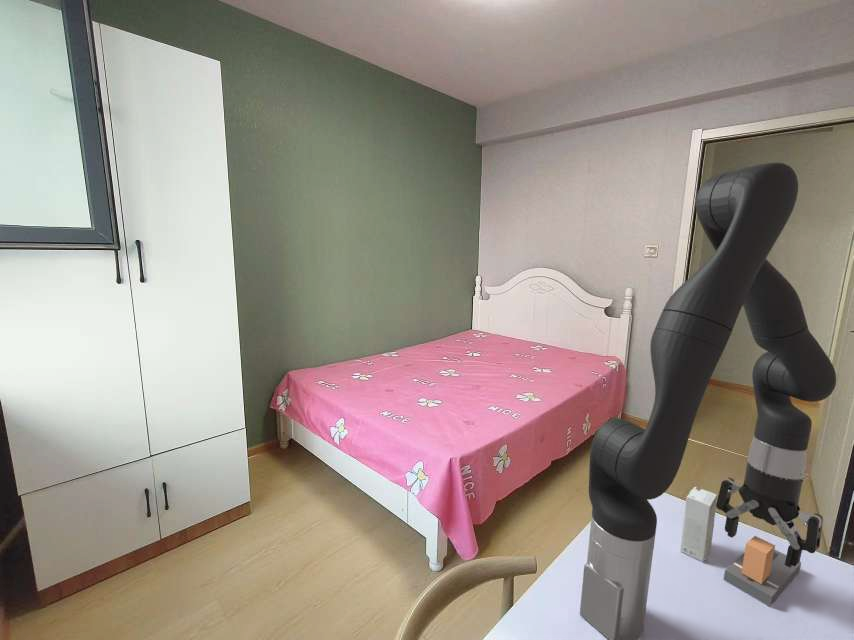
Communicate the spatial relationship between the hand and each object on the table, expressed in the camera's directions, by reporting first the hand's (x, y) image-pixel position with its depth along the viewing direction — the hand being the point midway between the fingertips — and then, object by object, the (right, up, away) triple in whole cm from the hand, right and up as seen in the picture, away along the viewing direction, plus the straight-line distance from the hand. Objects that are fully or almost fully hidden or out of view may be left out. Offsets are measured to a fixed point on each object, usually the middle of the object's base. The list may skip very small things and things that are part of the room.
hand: (759, 549), depth 73 cm
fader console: (+3, -7, +4) cm, 9 cm away
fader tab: (0, -5, +1) cm, 5 cm away
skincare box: (-5, -6, +10) cm, 13 cm away
